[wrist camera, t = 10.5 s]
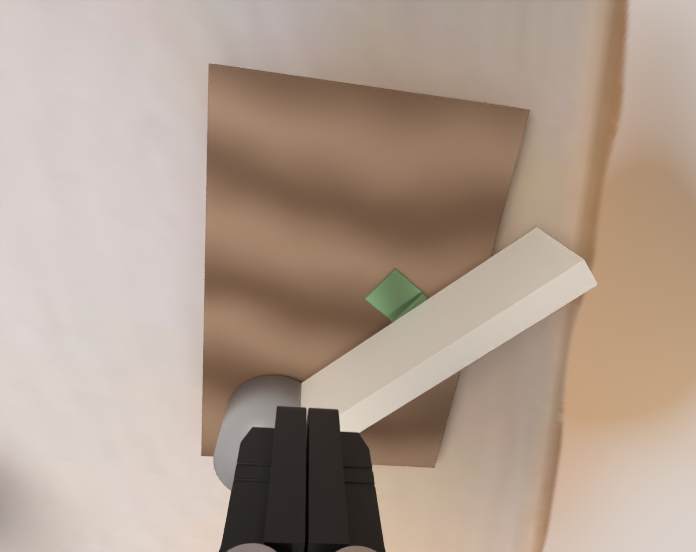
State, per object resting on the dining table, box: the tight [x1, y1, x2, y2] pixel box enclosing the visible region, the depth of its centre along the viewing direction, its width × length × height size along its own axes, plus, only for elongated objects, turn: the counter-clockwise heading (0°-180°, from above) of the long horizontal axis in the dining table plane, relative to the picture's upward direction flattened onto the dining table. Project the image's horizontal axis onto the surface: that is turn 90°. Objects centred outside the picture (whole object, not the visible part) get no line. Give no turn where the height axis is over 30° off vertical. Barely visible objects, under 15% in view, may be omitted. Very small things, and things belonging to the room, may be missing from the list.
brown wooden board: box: [201, 64, 530, 468], centre depth 28 cm, size 24×16×2 cm, turn 172°
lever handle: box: [213, 227, 598, 491], centre depth 26 cm, size 22×6×5 cm, turn 126°
